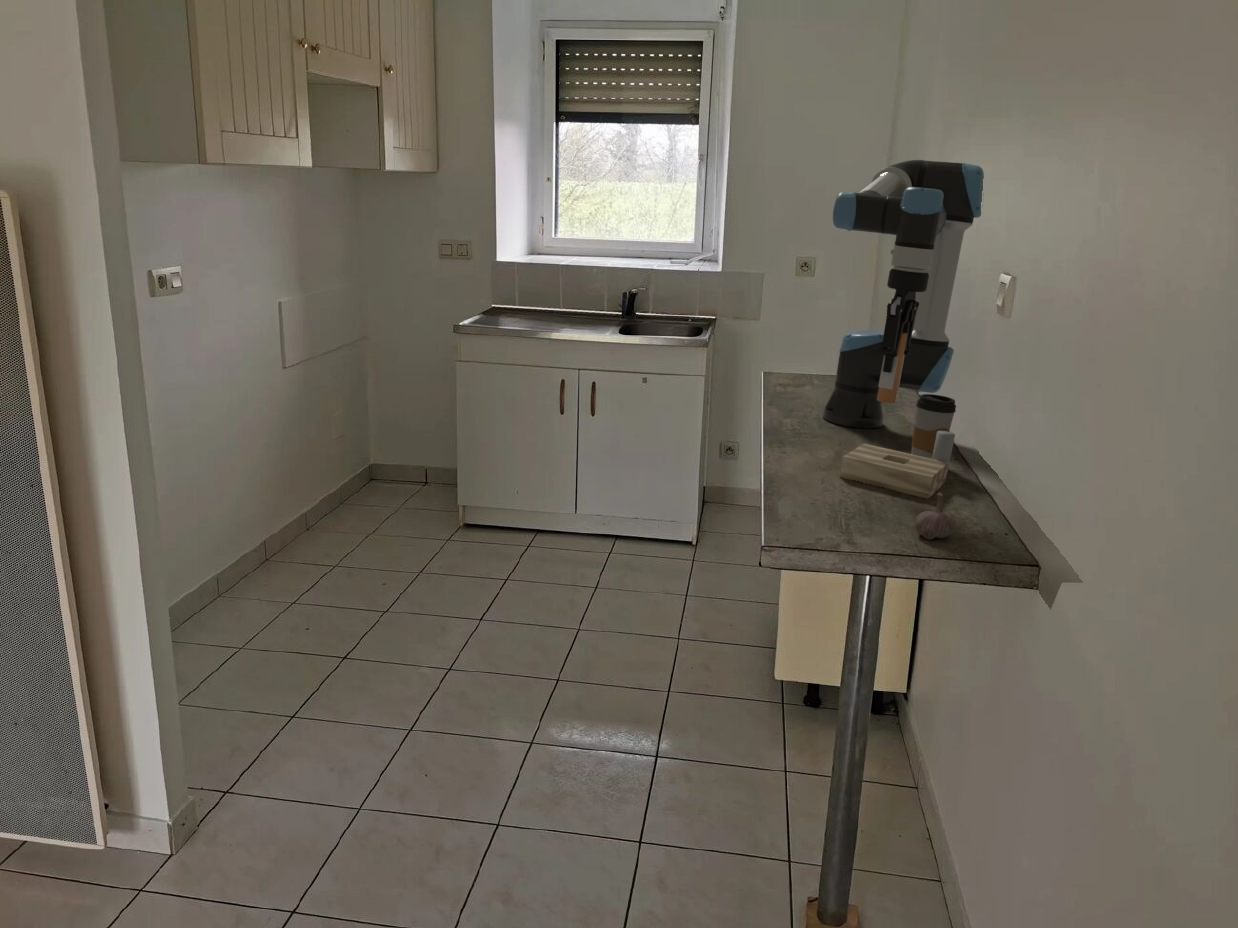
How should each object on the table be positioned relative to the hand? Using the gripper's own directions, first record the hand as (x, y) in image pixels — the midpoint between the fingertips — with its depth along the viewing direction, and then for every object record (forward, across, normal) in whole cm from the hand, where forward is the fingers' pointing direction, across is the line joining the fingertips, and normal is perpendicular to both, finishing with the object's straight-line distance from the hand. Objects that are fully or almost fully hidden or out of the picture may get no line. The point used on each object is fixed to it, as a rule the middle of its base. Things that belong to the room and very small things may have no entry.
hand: (888, 386), depth 194 cm
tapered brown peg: (+3, 0, 0) cm, 3 cm away
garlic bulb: (+20, +27, +20) cm, 39 cm away
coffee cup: (+19, -20, +5) cm, 28 cm away
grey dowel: (+19, -10, +11) cm, 24 cm away
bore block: (+19, 0, +4) cm, 19 cm away
